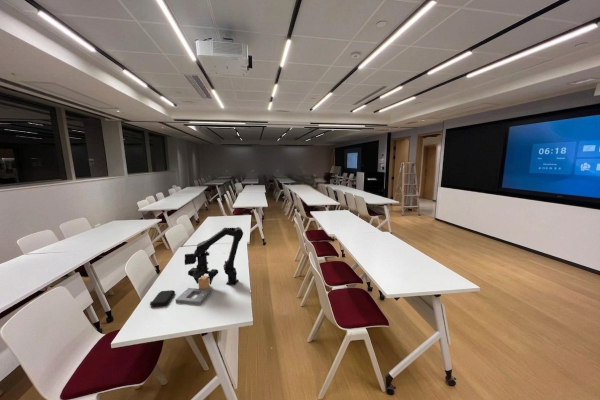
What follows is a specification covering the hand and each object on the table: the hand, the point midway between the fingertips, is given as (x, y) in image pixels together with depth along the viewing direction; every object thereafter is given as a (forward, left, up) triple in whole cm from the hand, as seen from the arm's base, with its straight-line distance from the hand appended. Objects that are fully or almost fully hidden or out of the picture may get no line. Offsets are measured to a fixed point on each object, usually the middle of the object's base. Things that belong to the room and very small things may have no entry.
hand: (204, 284), depth 158 cm
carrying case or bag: (+17, -18, -3) cm, 25 cm away
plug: (0, 0, -3) cm, 3 cm away
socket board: (+12, 0, -2) cm, 12 cm away
